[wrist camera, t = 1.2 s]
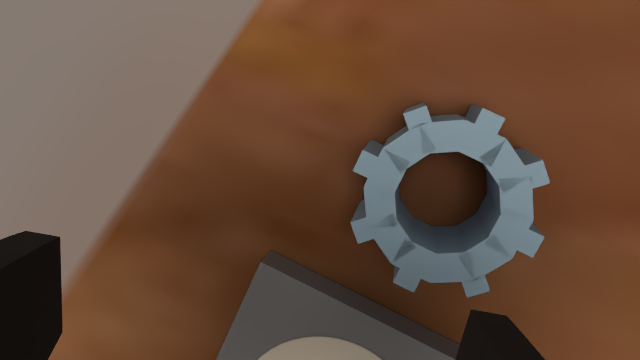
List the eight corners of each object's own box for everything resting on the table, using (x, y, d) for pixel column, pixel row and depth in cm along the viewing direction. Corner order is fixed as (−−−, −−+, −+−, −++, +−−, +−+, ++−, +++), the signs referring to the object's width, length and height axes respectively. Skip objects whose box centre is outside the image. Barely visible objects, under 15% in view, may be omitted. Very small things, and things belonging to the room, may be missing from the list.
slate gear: (560, 145, 20) (589, 157, 17) (479, 291, 21) (491, 331, 18) (403, 72, 21) (400, 69, 17) (332, 219, 22) (317, 245, 18)
